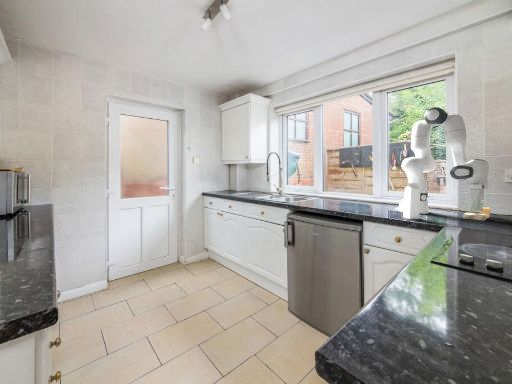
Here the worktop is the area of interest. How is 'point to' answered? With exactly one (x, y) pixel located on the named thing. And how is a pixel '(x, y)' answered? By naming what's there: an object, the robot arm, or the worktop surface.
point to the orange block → (485, 211)
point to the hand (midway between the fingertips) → (476, 207)
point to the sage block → (479, 208)
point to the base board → (475, 216)
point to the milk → (411, 201)
